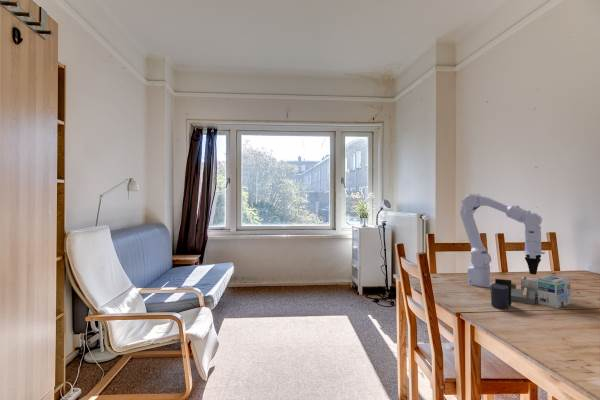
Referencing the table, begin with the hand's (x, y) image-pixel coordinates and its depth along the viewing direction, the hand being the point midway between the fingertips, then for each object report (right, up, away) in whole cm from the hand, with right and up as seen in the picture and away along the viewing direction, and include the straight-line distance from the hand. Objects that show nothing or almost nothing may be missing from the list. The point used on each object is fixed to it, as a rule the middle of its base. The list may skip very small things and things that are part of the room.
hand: (533, 272), depth 139 cm
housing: (0, -9, 0) cm, 9 cm away
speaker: (-23, -10, -16) cm, 30 cm away
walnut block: (-7, -9, +5) cm, 12 cm away
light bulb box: (-2, -10, -14) cm, 17 cm away
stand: (-12, -10, -6) cm, 16 cm away
